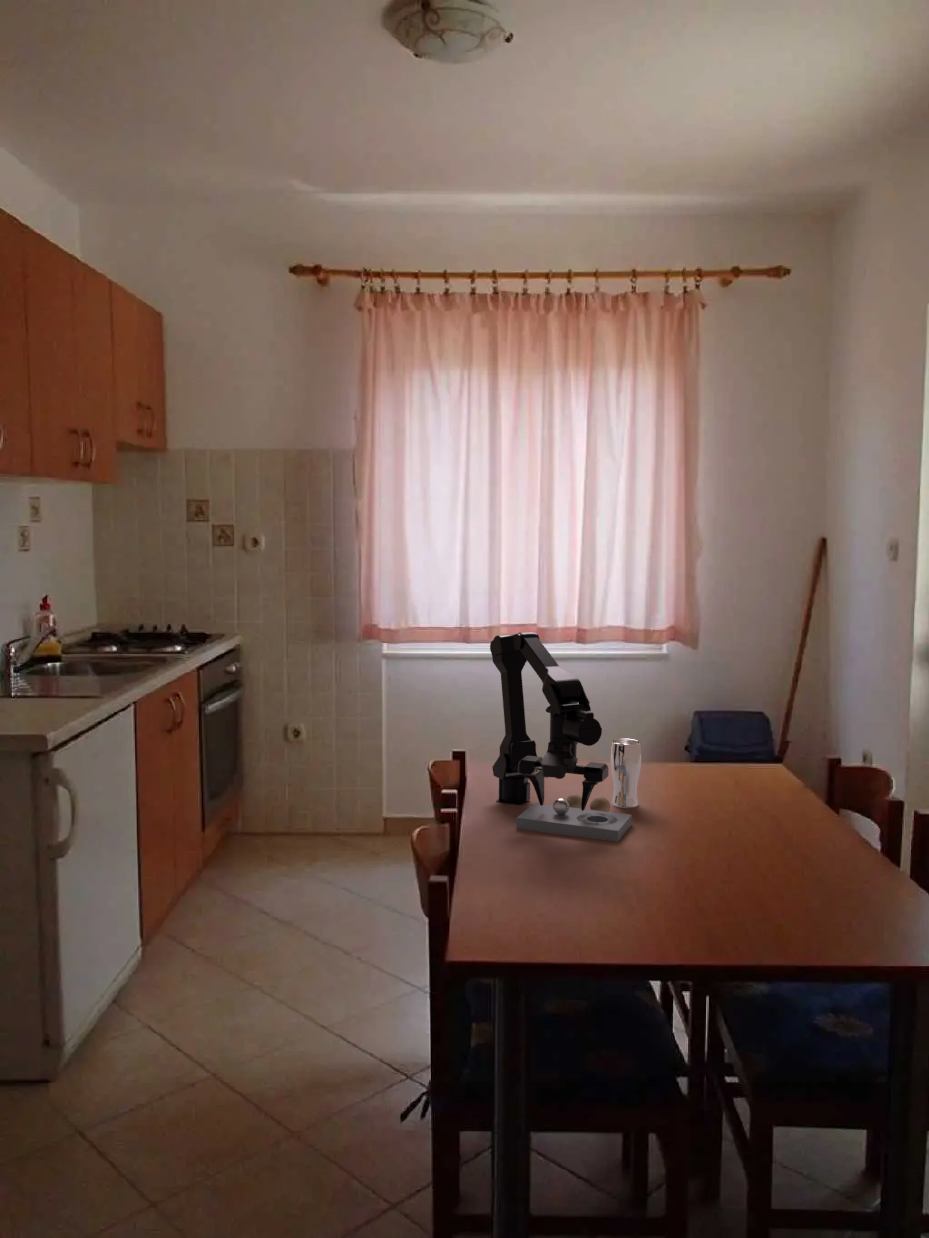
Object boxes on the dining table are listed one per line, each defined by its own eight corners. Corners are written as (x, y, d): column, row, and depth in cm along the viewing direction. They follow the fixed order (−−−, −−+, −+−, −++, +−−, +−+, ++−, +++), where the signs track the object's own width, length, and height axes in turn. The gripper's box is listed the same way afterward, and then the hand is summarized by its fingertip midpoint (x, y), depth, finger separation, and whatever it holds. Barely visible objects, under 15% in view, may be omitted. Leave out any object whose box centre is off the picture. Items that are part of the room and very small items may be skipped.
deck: (516, 829, 199) (516, 817, 199) (534, 813, 210) (534, 802, 210) (618, 842, 190) (618, 830, 190) (631, 825, 201) (631, 814, 201)
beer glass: (642, 809, 214) (643, 745, 212) (611, 809, 214) (613, 744, 212) (637, 800, 221) (638, 738, 219) (607, 800, 221) (609, 738, 219)
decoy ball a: (561, 814, 209) (561, 795, 209) (567, 809, 213) (567, 790, 213) (580, 817, 208) (581, 797, 207) (586, 811, 212) (586, 792, 211)
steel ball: (550, 815, 200) (550, 799, 200) (555, 811, 203) (555, 795, 203) (566, 817, 199) (566, 801, 199) (571, 813, 202) (571, 797, 202)
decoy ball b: (587, 817, 207) (587, 798, 207) (592, 812, 211) (593, 792, 211) (607, 820, 205) (607, 800, 205) (612, 814, 209) (612, 795, 209)
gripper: (509, 739, 196) (508, 812, 197) (595, 748, 188) (594, 823, 190) (526, 729, 206) (526, 798, 207) (609, 737, 199) (608, 809, 200)
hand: (562, 807), depth 201 cm, fingers open, 9 cm apart
